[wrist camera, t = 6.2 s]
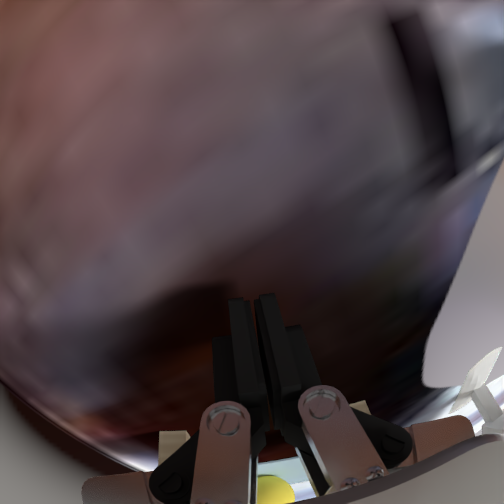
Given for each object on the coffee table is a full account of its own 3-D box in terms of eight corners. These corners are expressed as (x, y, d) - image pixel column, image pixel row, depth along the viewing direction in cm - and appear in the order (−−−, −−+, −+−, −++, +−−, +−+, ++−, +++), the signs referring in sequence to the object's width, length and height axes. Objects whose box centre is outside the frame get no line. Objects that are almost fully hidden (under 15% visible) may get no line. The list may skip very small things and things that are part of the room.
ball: (243, 520, 23) (236, 478, 27) (294, 512, 24) (286, 471, 28) (242, 529, 19) (234, 480, 23) (303, 520, 19) (293, 471, 23)
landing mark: (206, 467, 23) (206, 469, 22) (329, 449, 23) (329, 450, 23) (225, 491, 29) (225, 492, 29) (316, 477, 29) (317, 478, 29)
